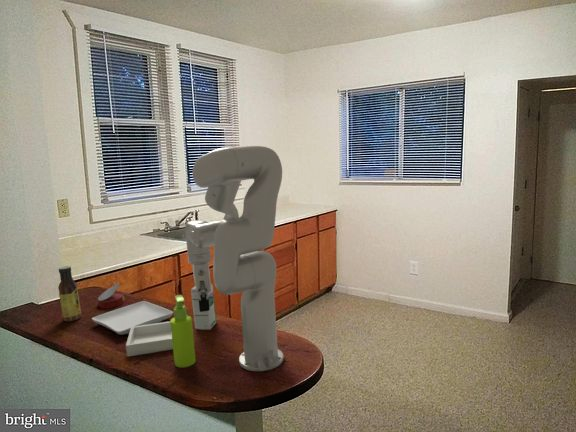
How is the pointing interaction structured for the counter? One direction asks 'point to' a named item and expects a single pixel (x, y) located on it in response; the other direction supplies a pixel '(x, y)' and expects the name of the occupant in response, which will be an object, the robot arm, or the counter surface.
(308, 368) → the counter surface
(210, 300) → the syrup box
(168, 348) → the tray
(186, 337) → the soap dispenser
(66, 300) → the sauce bottle
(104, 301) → the canned food
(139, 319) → the salad plate
